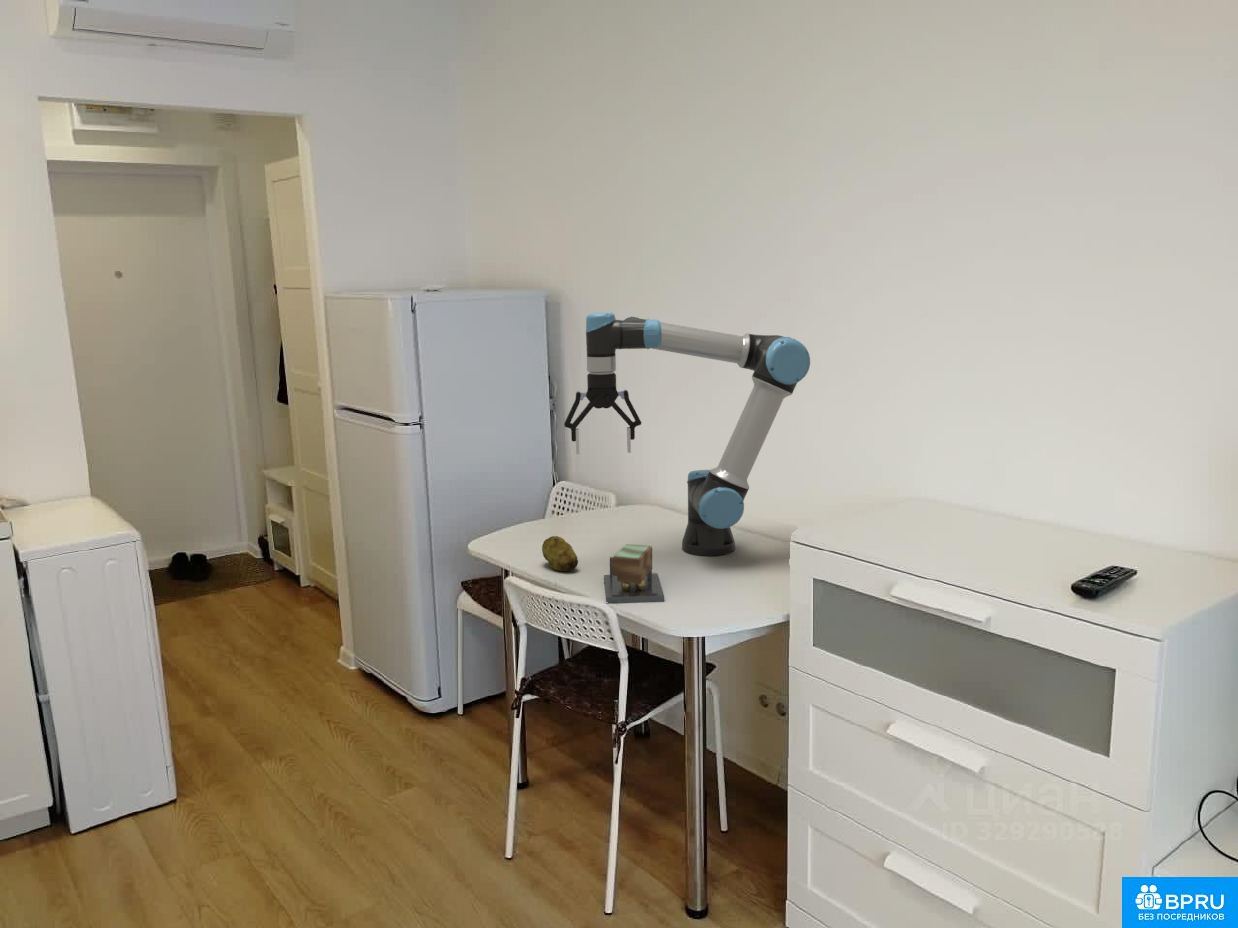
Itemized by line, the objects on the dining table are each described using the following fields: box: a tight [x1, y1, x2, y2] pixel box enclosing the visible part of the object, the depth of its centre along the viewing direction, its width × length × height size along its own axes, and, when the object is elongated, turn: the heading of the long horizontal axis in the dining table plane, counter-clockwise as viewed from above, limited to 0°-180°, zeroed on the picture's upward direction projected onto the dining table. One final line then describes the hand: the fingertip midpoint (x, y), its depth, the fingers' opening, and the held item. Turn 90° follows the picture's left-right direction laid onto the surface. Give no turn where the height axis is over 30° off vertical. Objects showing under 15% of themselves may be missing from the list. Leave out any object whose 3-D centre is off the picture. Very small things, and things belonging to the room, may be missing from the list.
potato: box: [541, 535, 579, 572], centre depth 265 cm, size 8×13×8 cm, turn 15°
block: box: [611, 543, 653, 583], centre depth 244 cm, size 12×7×6 cm, turn 163°
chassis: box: [603, 556, 665, 604], centre depth 245 cm, size 18×14×6 cm
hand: (603, 452), depth 258 cm, fingers open, 13 cm apart
